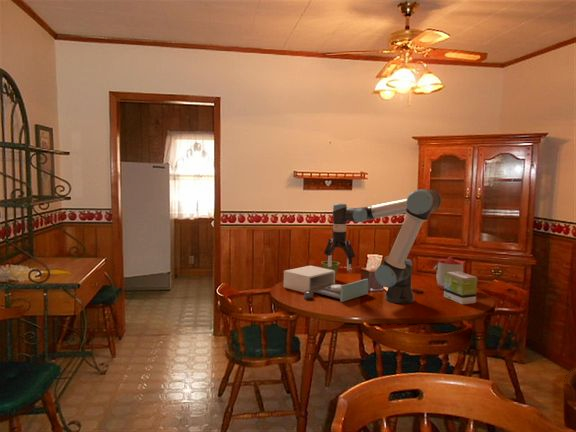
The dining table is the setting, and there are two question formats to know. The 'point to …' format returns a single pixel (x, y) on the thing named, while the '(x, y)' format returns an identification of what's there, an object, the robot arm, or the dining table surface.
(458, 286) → the tea box
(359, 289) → the drawer
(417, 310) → the dining table surface
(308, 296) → the grey knob
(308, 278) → the white drawer box
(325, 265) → the plant pot
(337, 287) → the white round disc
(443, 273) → the citrus juicer
